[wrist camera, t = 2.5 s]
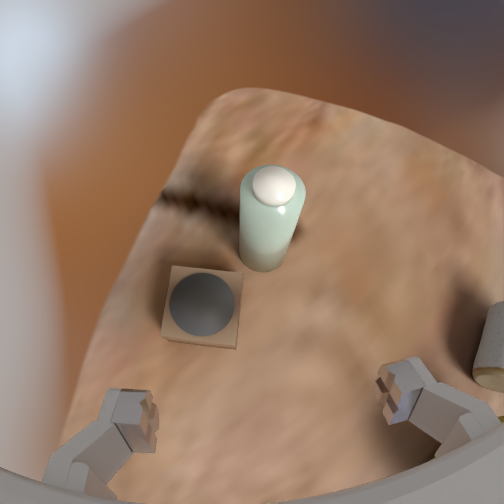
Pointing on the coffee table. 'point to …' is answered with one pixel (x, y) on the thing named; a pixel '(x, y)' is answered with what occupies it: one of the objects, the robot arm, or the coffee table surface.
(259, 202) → the column
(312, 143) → the coffee table surface
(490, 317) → the ceramic mug
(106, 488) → the robot arm
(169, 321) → the base
